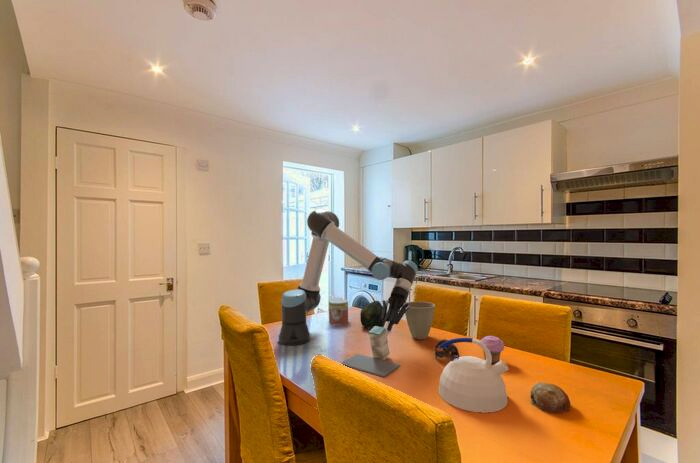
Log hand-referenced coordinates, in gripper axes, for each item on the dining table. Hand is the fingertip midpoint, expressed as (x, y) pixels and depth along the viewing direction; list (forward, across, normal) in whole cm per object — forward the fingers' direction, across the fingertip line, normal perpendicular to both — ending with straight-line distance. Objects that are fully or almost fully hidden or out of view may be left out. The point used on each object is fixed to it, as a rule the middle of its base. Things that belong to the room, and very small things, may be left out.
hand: (383, 336), depth 133 cm
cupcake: (-8, +38, +20) cm, 44 cm away
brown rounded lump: (+9, +59, +3) cm, 60 cm away
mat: (+13, 0, -2) cm, 13 cm away
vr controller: (-4, +22, +16) cm, 27 cm away
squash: (-18, -26, +30) cm, 43 cm away
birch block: (+6, 0, +4) cm, 8 cm away
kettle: (+14, +39, -2) cm, 42 cm away
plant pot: (-16, +2, +28) cm, 33 cm away
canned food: (-16, -48, +28) cm, 58 cm away
